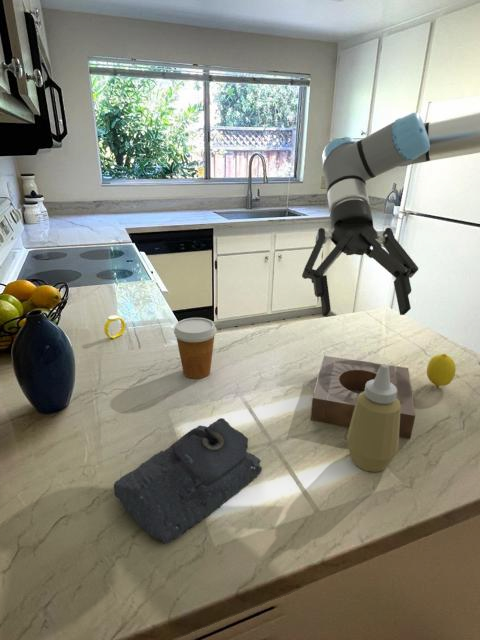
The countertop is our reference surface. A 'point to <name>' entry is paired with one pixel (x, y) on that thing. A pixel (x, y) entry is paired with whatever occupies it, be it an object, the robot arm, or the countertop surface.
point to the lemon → (441, 370)
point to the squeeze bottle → (375, 424)
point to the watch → (110, 319)
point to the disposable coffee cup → (195, 346)
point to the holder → (339, 402)
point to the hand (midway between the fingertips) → (366, 312)
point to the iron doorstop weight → (188, 480)
